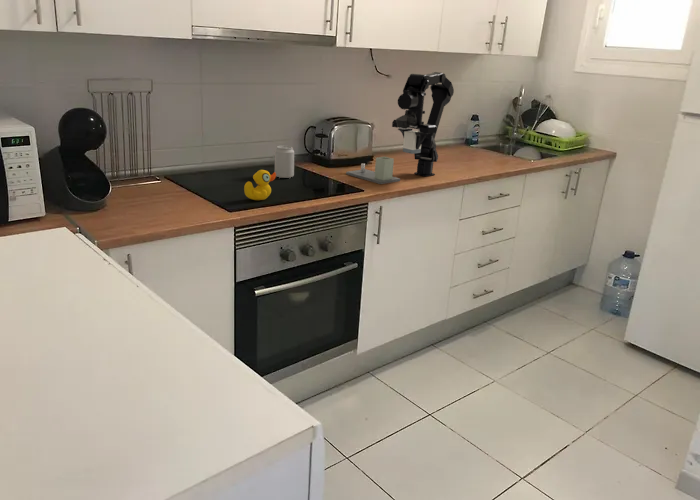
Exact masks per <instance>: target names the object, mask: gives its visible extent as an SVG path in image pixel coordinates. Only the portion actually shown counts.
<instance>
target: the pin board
mask: <svg viewBox="0 0 700 500" xmlns="http://www.w3.org/2000/svg"><path fill="white" fill-rule="evenodd" d="M394 161H395V158H393V157H388V156H378V157H375V165H374V170H369V169H367V168H365V167H366V163H361V164H360V169H356V170H349V171H346V172H345V175H347V176H351V177H355V178H357V179H362V180H365V181H368V182H371V183H374V184H379V185H383V184H389V183H390V184H391V183H396V182H397V183H398V182H400V181H401V178H399V177H396V176H393V174H394V164H395V163H394Z"/></svg>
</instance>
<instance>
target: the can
mask: <svg viewBox="0 0 700 500" xmlns="http://www.w3.org/2000/svg"><path fill="white" fill-rule="evenodd" d="M274 172H275V173H276V177H275V178H277V177H279V178H278V179H280V178H289V179H291V177H292V178H293V177H294V176H295V150H294V148H293V146H290V145H278V146H276V149H275V150H274Z"/></svg>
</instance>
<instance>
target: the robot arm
mask: <svg viewBox="0 0 700 500" xmlns="http://www.w3.org/2000/svg"><path fill="white" fill-rule="evenodd" d="M446 76H447V75H446V74H445V73H443V72H437V71H435V72H434V71H433V72H432V73H427V74H421V73H411V74H409V76H408V77H407V80H406V82H405V84H404V87H403V90H402V93H401V94H400V95H399V97H398V99H397V105H398V107H399V108H400V109H401V110H405V111H404V114H403V115H401V116H399V117H397V118H395V119H393V121H392V123H391V127H392V128H396V129H397V130H398V131H399V132H401V134H402V137H403V139H404V131H413V129H414V130H418V131H417V132H415V134H416V149H419V147H420V145H421V153H415V154H413V155H414V156H413V157H414V160H418V161H417V166H416V167H417V168H416V171H415V172H414V174H415V175H419V176H422V177H430V176H431V177H432V176H435V175H436V174H435V173H433V169H434V163H436V162H438V159H439V154H438V151H437V142H436V140H435V138H436V136H437V132H438V128H439V125H440V122H441V118H442V114H443V112H444V109H445V106H446V105H448V104H449V103H450V102H451V99H452V97H453V95H454V92H455V91H454V86H453V84H452V81H451V80H449V79H448V77H446ZM429 86H430V87H429ZM429 88H430V91H431V99H432V102H433V103H432V106H431V108H430V112H429V116H428V120H427V121H426V122H427V123H426V124H425V123H424V122H425V121H423V114H426V111H425V110H424V103H425V102H424V100H425V96H426V95H427V94H426V90H427V89H429Z"/></svg>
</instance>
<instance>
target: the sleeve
mask: <svg viewBox="0 0 700 500" xmlns="http://www.w3.org/2000/svg"><path fill="white" fill-rule="evenodd" d="M415 132H418V131H417V130H416V131H415V130H412V131H404V138H403V142H402V143H403V144H402V145H403V146H402V152H404V153H407V154H411V155H412V154H413V155H414V154H415V153H421V145H420V147H419V149H416V134H415Z"/></svg>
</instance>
